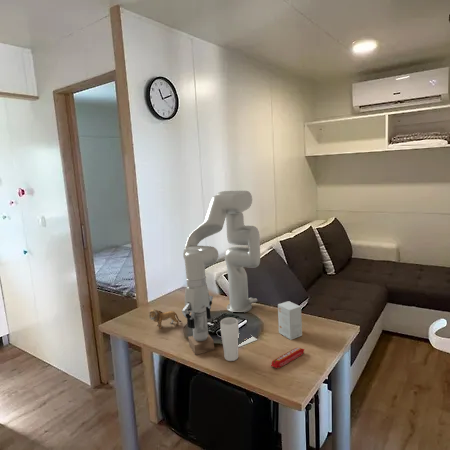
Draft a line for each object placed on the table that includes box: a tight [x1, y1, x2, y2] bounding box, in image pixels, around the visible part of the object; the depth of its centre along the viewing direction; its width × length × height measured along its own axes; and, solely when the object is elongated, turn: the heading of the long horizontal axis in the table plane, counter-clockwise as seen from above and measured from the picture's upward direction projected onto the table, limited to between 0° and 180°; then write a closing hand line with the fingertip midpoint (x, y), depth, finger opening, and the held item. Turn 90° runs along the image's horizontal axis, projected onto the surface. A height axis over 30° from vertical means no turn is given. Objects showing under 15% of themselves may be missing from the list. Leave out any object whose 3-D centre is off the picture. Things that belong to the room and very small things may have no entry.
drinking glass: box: [219, 316, 240, 362], centre depth 137 cm, size 7×7×15 cm
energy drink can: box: [191, 304, 209, 341], centre depth 145 cm, size 6×6×15 cm
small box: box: [277, 300, 303, 341], centre depth 153 cm, size 8×6×13 cm
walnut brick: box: [188, 333, 215, 355], centre depth 147 cm, size 8×8×4 cm
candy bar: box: [270, 347, 305, 369], centre depth 134 cm, size 16×4×3 cm, turn 129°
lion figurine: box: [148, 309, 182, 329], centre depth 169 cm, size 15×5×9 cm, turn 111°
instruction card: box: [238, 335, 258, 348], centre depth 151 cm, size 12×9×1 cm
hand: (199, 322), depth 145 cm, fingers open, 9 cm apart
